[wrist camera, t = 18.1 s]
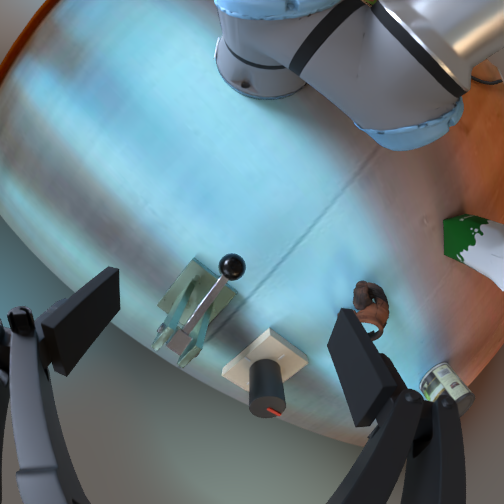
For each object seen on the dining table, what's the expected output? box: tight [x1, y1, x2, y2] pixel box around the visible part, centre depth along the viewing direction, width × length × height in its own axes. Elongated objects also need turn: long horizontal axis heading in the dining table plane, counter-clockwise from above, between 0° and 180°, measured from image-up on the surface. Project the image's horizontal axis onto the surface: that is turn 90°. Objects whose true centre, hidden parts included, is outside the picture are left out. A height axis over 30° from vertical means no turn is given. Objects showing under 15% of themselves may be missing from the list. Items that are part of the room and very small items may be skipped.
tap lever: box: [166, 253, 246, 356], centre depth 34 cm, size 15×4×4 cm, turn 141°
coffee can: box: [420, 363, 475, 417], centre depth 46 cm, size 10×10×14 cm
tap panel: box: [222, 328, 309, 392], centre depth 48 cm, size 13×10×3 cm
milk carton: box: [443, 214, 504, 291], centre depth 33 cm, size 9×9×20 cm
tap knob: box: [249, 359, 286, 418], centre depth 42 cm, size 6×6×10 cm
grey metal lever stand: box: [151, 258, 237, 368], centre depth 38 cm, size 11×9×15 cm
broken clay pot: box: [338, 281, 389, 341], centre depth 43 cm, size 12×10×8 cm
